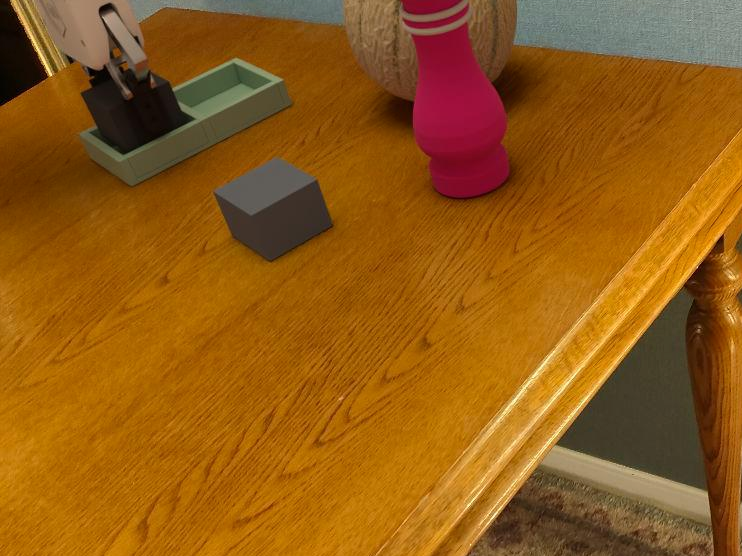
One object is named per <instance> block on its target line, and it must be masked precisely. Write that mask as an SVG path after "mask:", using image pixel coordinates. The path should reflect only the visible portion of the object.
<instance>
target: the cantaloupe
mask: <svg viewBox="0 0 742 556" xmlns="http://www.w3.org/2000/svg"><path fill="white" fill-rule="evenodd" d="M468 3H469V6H470V7H471V10H472V14H471V17H470V18H469V20H468V31H469V38H470V42H471V46H472V50H473V53H474V56H475V58H476V60H477V62H478V65H479V66H480V68H481V70H482V71H483V73H484V74H485V76H486V77H487V79H488V80H489V81H490V83H491V84H492V83H494V82H495V80H497V79H498V78H499V76H500V75H501V73H502V71H503V69H504V68H505V66H506V64H507V62H508V60H509V57H510V55H511V52H512V48H513V44H514V42H515V36H516V30H517V22H518V4H517V0H469V2H468ZM401 4H402V2H401V1H400V0H342V18H343V23H344V27H345V33H346V36H347V39H348V42H349V45H350V48H351V52H352V54H353V55H354V58H355V59H356V61H357V63H358V65H359V66H360V67H361V69H362V70H363V72H364V74H366V75H367V76H368V77H369V78H370V79H371V80H372V81H373V82H375V83H376V84H377V85H378V86H380V88H382V89H384V90H385V91H386V92H389V93H390V94H391V95H393V96H396V97H398V98H401V99H402V100H406V101H409V102H410V101H411V102H413V103H414V102H415V96H416V90H417V84H418V59H417V53H416V48H415V44H414V41H413V38H412V36H411V33H408V32H407V31H406V30H405V29H404V28H403V26H402V22H403V19H402V16H401V15H400V13H399V8H400V5H401Z"/></svg>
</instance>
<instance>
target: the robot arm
mask: <svg viewBox="0 0 742 556" xmlns="http://www.w3.org/2000/svg"><path fill="white" fill-rule="evenodd" d="M33 3H34V5H35V7H36V9H37V11H38V13H39V16H40V17H41V21H42V22H43V25H44V27H45V28H46V31H47V33H48V35H49V37H50V39H51V41H52V43H53V45H54V46H55V47H56V48H57V49H58V50H59V51H60V52H61V53H63V54H64V55H66V56H68V57H70V58H72V59H73V60H75V61H77V62H79V63H80V66H81V68H82V71H83V73H84V75H86V77H87V78H88V82H89V85H90V88H92V87H94V86H96V85H98V84H101V83H103V82H105V81H107V80H109V79H111V78H113V79H114V81H115V83H116V84H117V86H118V88H119V90H120V91H121V93H122V95H123V96H124V98H122V99H120V100H121V102H122V104H123V106H124V108H125V111H126V113H127V115H128V117H129V119H130V121H131V123H132V125H133V127H134V130H135V132H136V134H137V136H138V138H139V140H140V141H141V142H143V143H145V144H147V143H149V142H151V141H153V140H155V139H157V138H159V137H161V136H163V135H165V134H167V133H169V132H171V131H172V130H173V129H174V126H173V123H172V121H171V119H170V117H169V114H168V112H167V110H166V108H165V105H164V103H163V101H162V98H161V96H160V94H159V92H158V89H157V87H156V83H155V81H154V79H153V77H152V75H151V74H150V72H152V71H151V69H150V62H149V59H148V57H147V55H146V53H145V51H144V47H145V43H146V42H145V39H144V38H145V37H144V35H143V33H142V30H141V27H140V25H139V22H138V20H137V17H136V15H135V12H134V10H133V8H132V6H131V3H130V1H129V0H33ZM117 49H118V50H119V51H120V53H121V54H120V55H118V56H116V57H115V54H114V50H117ZM125 63H126V66H127V69H124V66H122V65H124V64H125ZM124 72H125V79H124V77H123V76H122V73H124Z"/></svg>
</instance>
